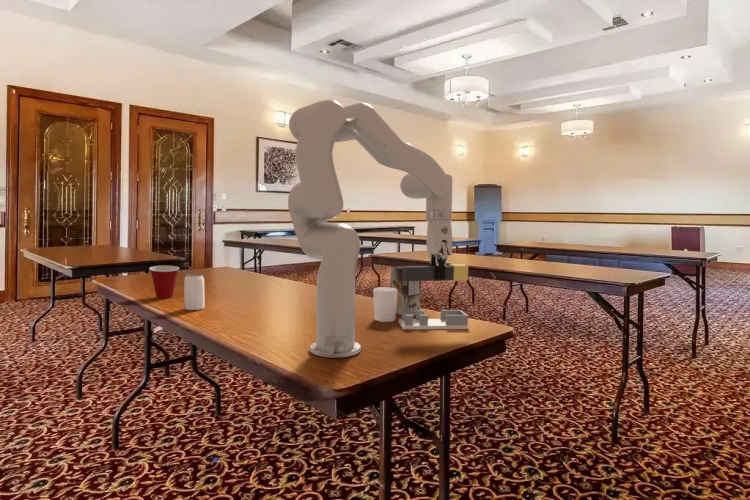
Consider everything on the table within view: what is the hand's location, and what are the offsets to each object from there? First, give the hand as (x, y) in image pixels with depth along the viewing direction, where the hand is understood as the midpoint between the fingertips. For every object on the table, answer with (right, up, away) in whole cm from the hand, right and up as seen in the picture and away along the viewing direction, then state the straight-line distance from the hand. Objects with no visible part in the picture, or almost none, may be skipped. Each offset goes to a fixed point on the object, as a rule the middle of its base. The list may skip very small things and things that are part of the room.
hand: (437, 277), depth 134 cm
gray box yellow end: (-1, -1, 0) cm, 1 cm away
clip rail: (-1, -15, +6) cm, 16 cm away
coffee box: (-8, -14, +22) cm, 27 cm away
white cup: (-15, -15, +13) cm, 25 cm away
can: (-81, -13, +24) cm, 86 cm away
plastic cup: (-101, -11, +44) cm, 111 cm away
